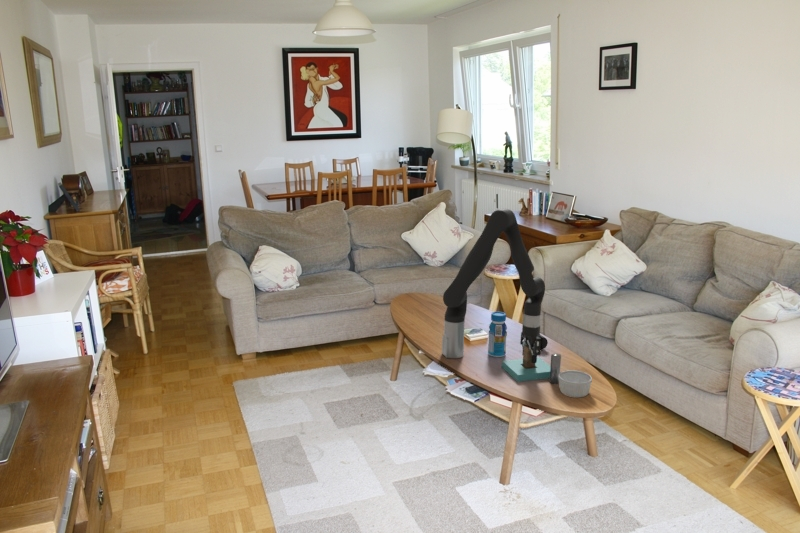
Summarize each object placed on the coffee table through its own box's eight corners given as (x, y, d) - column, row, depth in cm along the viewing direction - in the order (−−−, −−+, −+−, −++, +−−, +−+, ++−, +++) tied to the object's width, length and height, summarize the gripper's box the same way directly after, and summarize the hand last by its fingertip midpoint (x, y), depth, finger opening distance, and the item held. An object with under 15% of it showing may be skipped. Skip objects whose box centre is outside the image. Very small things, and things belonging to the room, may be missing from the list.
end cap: (547, 350, 318) (548, 336, 316) (533, 351, 316) (534, 338, 314) (537, 343, 327) (538, 330, 325) (524, 344, 325) (524, 331, 323)
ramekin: (555, 396, 269) (556, 379, 267) (559, 383, 281) (560, 367, 279) (589, 401, 264) (590, 385, 263) (592, 388, 276) (593, 372, 274)
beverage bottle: (484, 354, 311) (485, 313, 307) (494, 349, 317) (496, 309, 313) (499, 359, 306) (501, 317, 301) (509, 354, 312) (511, 313, 307)
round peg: (552, 384, 280) (554, 357, 277) (547, 380, 283) (549, 353, 280) (560, 383, 281) (562, 356, 278) (556, 379, 284) (558, 353, 281)
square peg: (526, 374, 289) (527, 348, 286) (522, 370, 293) (523, 345, 290) (534, 373, 290) (536, 347, 287) (530, 369, 294) (532, 344, 291)
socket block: (517, 381, 282) (517, 375, 281) (502, 367, 297) (502, 360, 296) (556, 377, 286) (556, 370, 286) (538, 363, 301) (539, 357, 301)
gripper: (516, 319, 292) (514, 354, 296) (531, 329, 278) (528, 366, 282) (532, 318, 294) (529, 352, 298) (547, 328, 280) (544, 364, 284)
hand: (529, 359), depth 290 cm, fingers open, 8 cm apart
